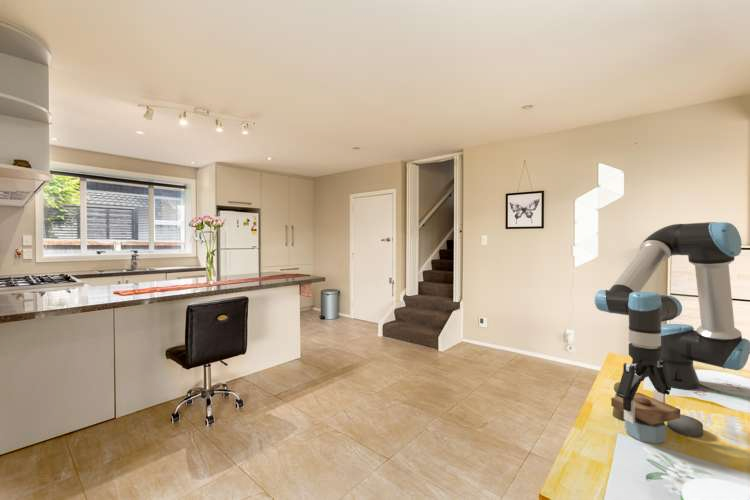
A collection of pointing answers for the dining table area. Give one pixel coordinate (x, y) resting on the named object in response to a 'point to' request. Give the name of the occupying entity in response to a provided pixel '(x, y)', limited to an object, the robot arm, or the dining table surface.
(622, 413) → the pepper shaker
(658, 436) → the bowl
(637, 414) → the lid
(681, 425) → the grey flattened dome
